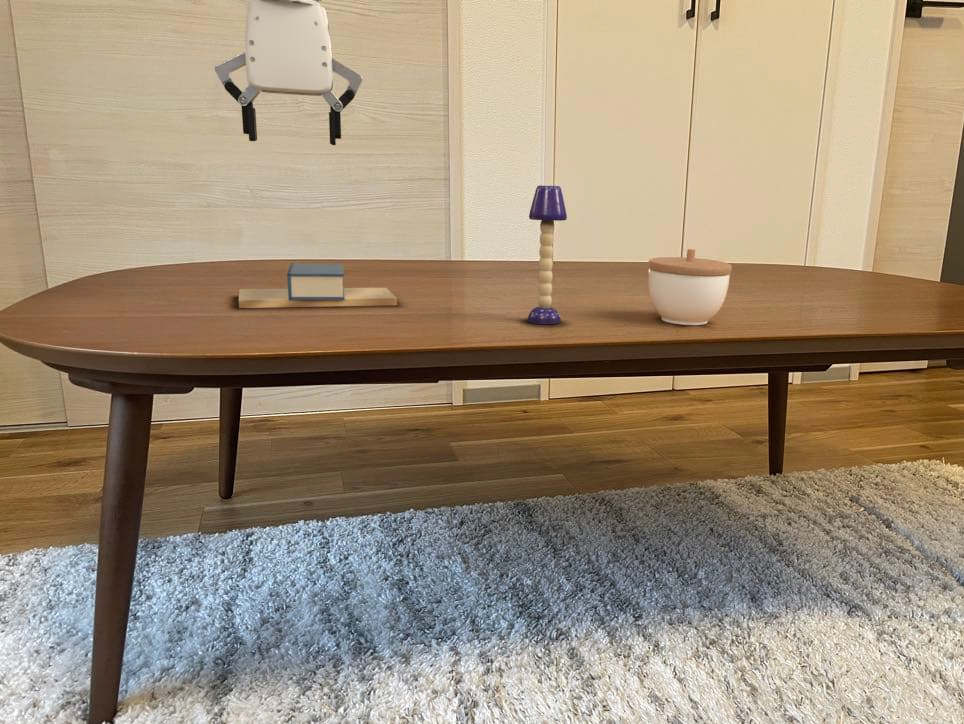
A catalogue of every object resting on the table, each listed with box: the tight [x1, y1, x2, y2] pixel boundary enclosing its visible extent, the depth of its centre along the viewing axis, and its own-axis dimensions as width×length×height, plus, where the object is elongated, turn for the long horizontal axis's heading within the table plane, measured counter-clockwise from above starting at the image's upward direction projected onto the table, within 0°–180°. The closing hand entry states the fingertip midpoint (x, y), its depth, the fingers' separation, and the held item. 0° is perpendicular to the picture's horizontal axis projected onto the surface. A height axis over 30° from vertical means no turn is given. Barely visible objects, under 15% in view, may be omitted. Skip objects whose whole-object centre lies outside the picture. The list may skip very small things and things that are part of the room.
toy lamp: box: [527, 185, 568, 325], centre depth 97 cm, size 5×5×17 cm
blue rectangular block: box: [286, 262, 345, 300], centre depth 105 cm, size 10×7×3 cm
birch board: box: [238, 287, 398, 309], centre depth 106 cm, size 20×9×1 cm, turn 109°
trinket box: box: [647, 248, 733, 326], centre depth 102 cm, size 11×11×9 cm
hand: (293, 143), depth 98 cm, fingers open, 9 cm apart
